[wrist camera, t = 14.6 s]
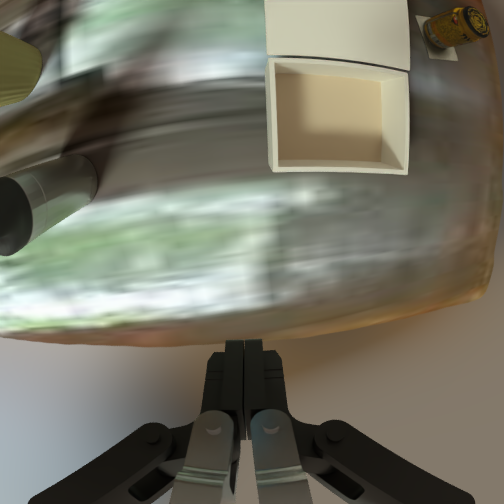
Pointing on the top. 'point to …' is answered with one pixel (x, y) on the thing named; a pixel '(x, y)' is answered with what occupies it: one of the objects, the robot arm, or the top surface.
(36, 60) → the potted cactus
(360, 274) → the top surface
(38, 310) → the top surface
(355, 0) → the lid
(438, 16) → the condiment
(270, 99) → the box
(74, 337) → the top surface
